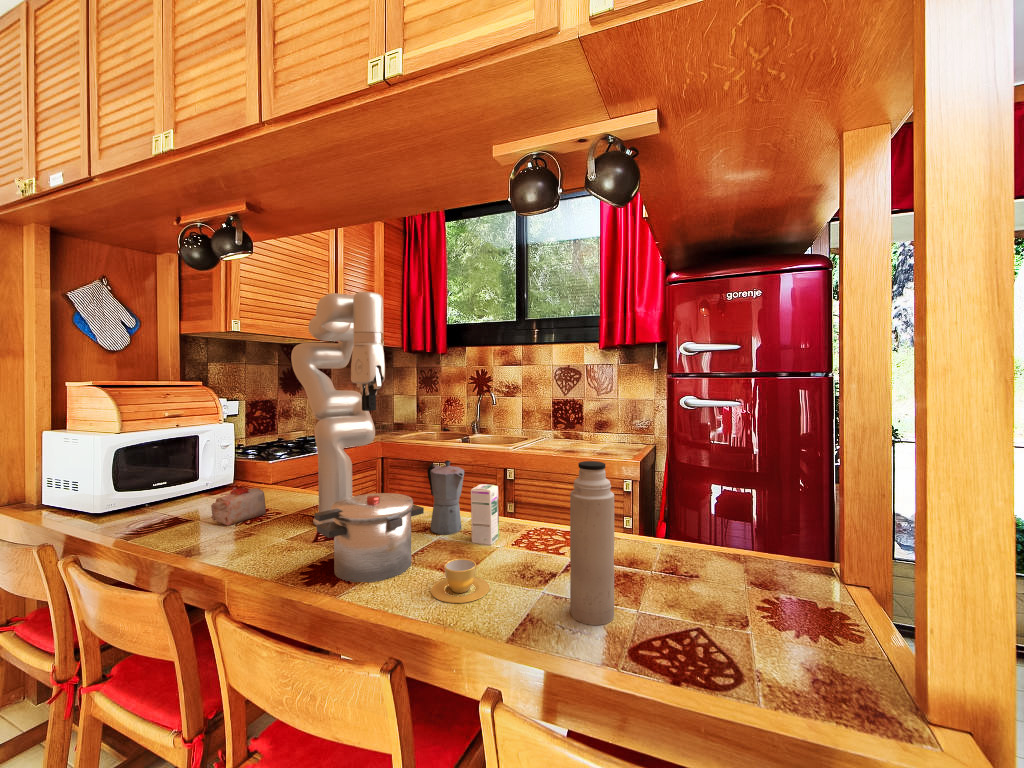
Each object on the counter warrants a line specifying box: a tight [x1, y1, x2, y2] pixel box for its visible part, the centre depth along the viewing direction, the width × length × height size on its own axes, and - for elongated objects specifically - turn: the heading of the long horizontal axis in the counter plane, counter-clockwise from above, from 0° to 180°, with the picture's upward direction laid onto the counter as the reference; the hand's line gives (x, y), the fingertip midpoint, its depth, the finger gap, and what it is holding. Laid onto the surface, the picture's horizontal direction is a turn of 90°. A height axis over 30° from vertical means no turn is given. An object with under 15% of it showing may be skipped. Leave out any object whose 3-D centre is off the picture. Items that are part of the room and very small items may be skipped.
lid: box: [314, 492, 414, 522], centre depth 105 cm, size 18×22×3 cm
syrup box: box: [470, 483, 500, 546], centre depth 123 cm, size 6×6×14 cm
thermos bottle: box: [569, 460, 615, 626], centre depth 85 cm, size 8×8×28 cm
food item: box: [210, 486, 267, 527], centre depth 141 cm, size 14×8×10 cm, turn 157°
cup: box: [430, 558, 490, 604], centre depth 95 cm, size 12×12×5 cm
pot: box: [316, 503, 425, 583], centre depth 106 cm, size 18×24×13 cm
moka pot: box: [426, 460, 465, 535], centre depth 131 cm, size 10×15×20 cm, turn 53°
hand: (368, 410), depth 121 cm, fingers closed
